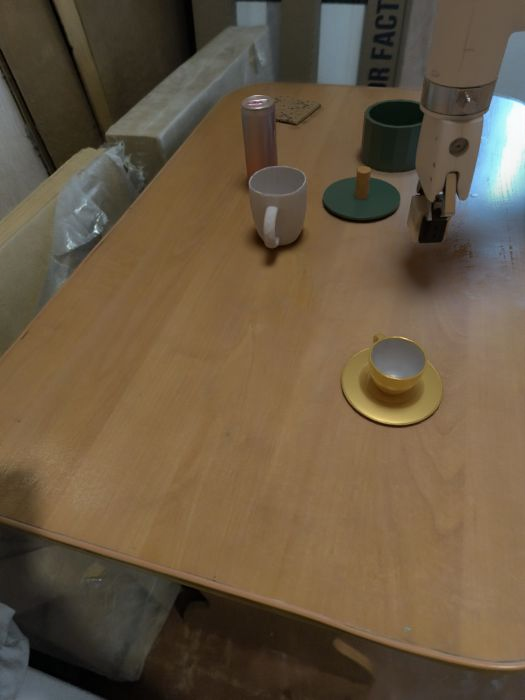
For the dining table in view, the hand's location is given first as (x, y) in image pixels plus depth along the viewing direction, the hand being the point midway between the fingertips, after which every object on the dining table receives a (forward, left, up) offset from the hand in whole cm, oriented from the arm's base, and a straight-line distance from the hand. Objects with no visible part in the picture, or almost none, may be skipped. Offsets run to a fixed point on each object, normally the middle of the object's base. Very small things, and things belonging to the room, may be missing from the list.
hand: (426, 229), depth 64 cm
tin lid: (+7, -19, -6) cm, 21 cm away
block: (0, 0, 0) cm, 0 cm away
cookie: (+19, -60, -7) cm, 63 cm away
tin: (-2, -35, -7) cm, 35 cm away
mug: (+21, -8, -7) cm, 24 cm away
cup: (+7, +22, -7) cm, 24 cm away
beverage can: (+24, -27, -7) cm, 37 cm away
